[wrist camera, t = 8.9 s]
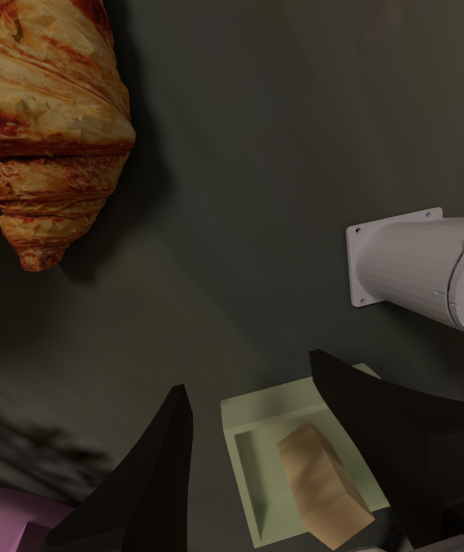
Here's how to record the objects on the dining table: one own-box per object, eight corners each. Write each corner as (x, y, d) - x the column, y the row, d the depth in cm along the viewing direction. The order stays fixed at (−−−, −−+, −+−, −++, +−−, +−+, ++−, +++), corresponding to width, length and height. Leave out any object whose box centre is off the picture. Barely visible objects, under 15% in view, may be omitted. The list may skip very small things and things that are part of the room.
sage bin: (363, 362, 25) (388, 384, 21) (370, 471, 28) (393, 504, 25) (220, 400, 23) (223, 430, 20) (248, 508, 27) (254, 548, 24)
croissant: (71, -6, 18) (-105, -195, 10) (177, -26, 15) (34, -318, 7) (49, 255, 21) (-94, 255, 14) (130, 285, 18) (2, 305, 11)
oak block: (307, 419, 25) (347, 493, 18) (330, 441, 26) (374, 519, 19) (276, 444, 25) (303, 526, 18) (299, 465, 26) (333, 550, 19)
